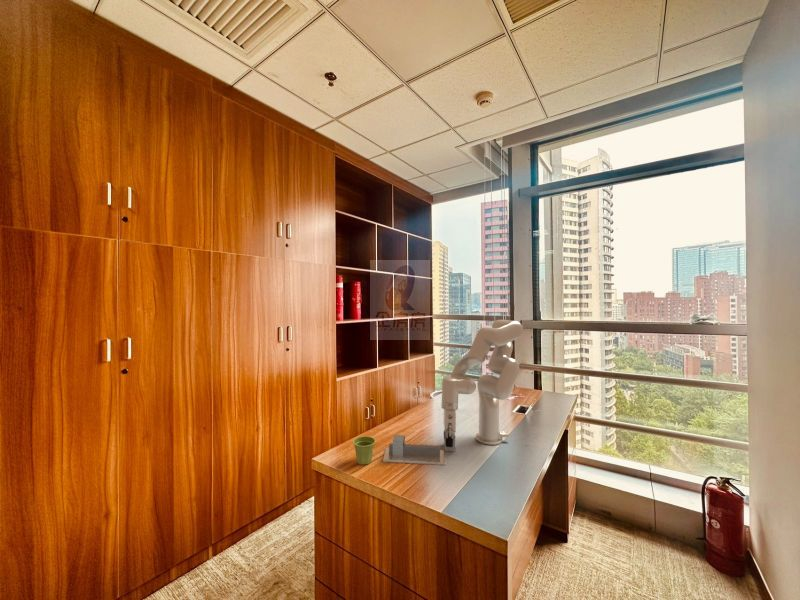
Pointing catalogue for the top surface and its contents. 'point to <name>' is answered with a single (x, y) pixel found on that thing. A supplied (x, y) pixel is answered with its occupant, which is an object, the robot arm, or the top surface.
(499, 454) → the top surface
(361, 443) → the plant pot
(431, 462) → the rail
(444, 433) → the grey block
